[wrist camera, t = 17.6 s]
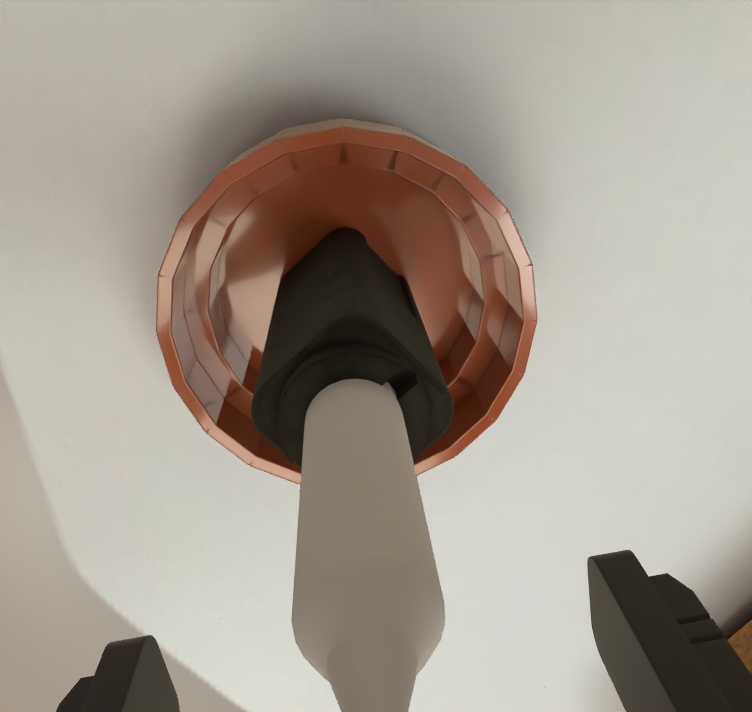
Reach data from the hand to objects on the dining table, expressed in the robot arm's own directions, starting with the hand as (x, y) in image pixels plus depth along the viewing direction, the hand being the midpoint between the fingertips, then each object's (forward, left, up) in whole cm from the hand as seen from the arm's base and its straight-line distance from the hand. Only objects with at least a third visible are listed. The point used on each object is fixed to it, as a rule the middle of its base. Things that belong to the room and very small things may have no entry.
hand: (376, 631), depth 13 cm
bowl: (0, 0, -23) cm, 23 cm away
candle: (0, 0, -22) cm, 22 cm away
